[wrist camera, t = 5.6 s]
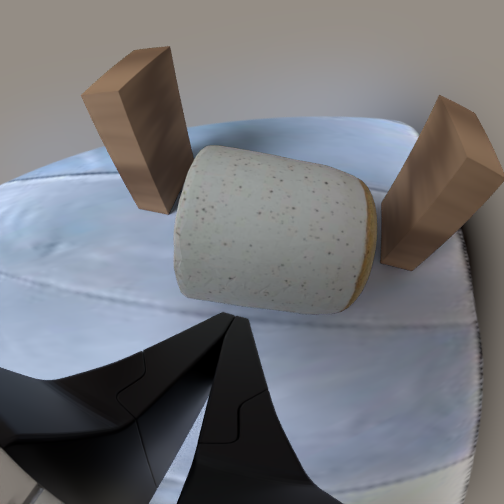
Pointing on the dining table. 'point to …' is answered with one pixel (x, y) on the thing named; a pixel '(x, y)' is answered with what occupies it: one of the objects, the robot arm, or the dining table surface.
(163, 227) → the dining table surface
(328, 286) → the ceramic mug
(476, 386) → the dining table surface
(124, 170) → the walnut bookends
